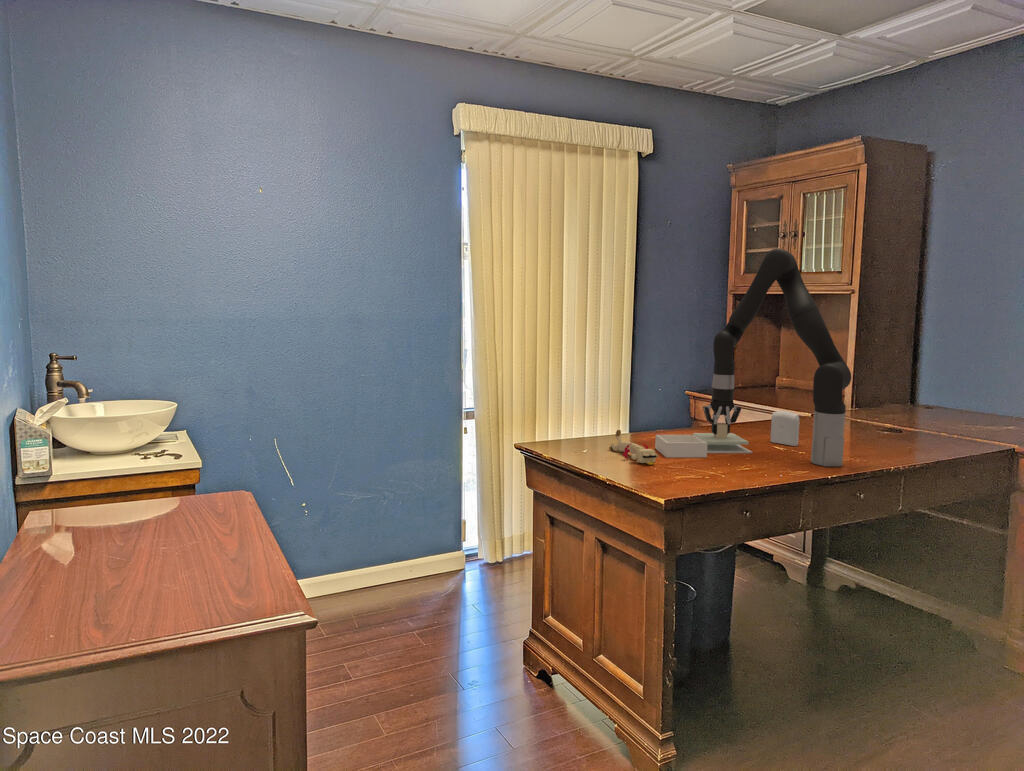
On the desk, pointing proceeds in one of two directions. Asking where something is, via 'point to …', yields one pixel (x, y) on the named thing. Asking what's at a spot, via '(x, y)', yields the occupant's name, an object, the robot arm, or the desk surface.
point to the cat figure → (634, 450)
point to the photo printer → (785, 428)
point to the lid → (721, 436)
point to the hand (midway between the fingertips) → (720, 434)
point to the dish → (681, 446)
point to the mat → (726, 448)
